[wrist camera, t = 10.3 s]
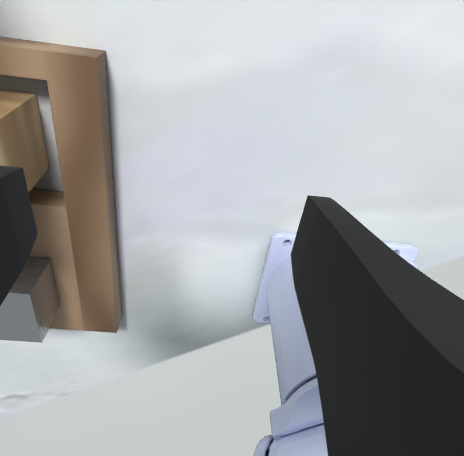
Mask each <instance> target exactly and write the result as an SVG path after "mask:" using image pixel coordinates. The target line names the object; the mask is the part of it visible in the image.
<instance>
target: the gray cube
mask: <svg viewBox="0 0 464 456" xmlns="http://www.w3.org/2000/svg"><path fill="white" fill-rule="evenodd" d="M59 306H60V301H59V295H58V290H57V285H56V280H55V275H54V270H53V265H52V260H51V258H50V257H38V256H29V257H28V259H27V261H26V264H25V266H24V268H23V270H22V271H21V273H20V275H19V276H18V278H17V280H16V281H15V283H14V285H13V286H12V288H11V290H10V291H9V293H8V295H7V296H6V298H5V299H4V301H3V303H2V304H1V306H0V340H12V341H28V342H43V339H44V337H45V335H46V333H47V331H48V329H49V327H50V325H51V323H52V321H53V318H54V316H55V314H56V312H57V310H58V308H59Z"/></svg>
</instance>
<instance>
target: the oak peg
mask: <svg viewBox="0 0 464 456" xmlns="http://www.w3.org/2000/svg"><path fill="white" fill-rule="evenodd" d="M0 165H1V166H11V167H21V168H23V170H24V175H25V179H26V184H27V188H28V193H29V191H30V190H31V189H32V188H33V187H34V186H35V184H36V183H37V182H38V181H39V180H40V178H41V177H42V176H43V175H44V174H45V172H46V171H47V170H48V169H49V165H48V159H47V154H46V148H45V142H44V137H43V131H42V125H41V120H40V114H39V109H38V103H37V97H36V94H32V93H23V92H14V91H6V90H0Z"/></svg>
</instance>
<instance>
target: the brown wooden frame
mask: <svg viewBox="0 0 464 456" xmlns="http://www.w3.org/2000/svg"><path fill="white" fill-rule="evenodd" d="M0 74H1V75H9V76H17V77H25V78H33V79H41V80H47V85H48V91H49V98H50V105H51V111H52V118H53V125H54V131H55V138H56V145H57V151H58V158H59V165H60V171H61V178H62V185H63V191H64V192H58V191H48V190H38V189H31V190H30V191H29V197H30V202H31V206H32V211H33V215H34V220H35V224H36V229H37V233H38V234H37V237H36V240H35V242H34V245H33V247H32V250H31V252H30V255H29V256H38V257H50V258H51V260H52V265H53V270H54V275H55V280H56V285H57V290H58V295H59V301H60V306H59V308H58V310H57V312H56V314H55V316H54V318H53V321H52V323H51V325H50V327H49V328H54V329H69V330H84V331H98V332H113V333H117V330H118V326H119V323H120V319H121V302H120V285H119V268H118V252H117V235H116V219H115V202H114V186H113V169H112V152H111V136H110V119H109V103H108V86H107V70H106V53H105V51H103V50H95V49H88V48H81V47H73V46H66V45H58V44H51V43H43V42H36V41H29V40H21V39H14V38H6V37H0Z"/></svg>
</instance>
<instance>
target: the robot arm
mask: <svg viewBox="0 0 464 456" xmlns="http://www.w3.org/2000/svg"><path fill="white" fill-rule="evenodd" d="M37 234H38V233H37V229H36V224H35V220H34V215H33V211H32V206H31V202H30V197H29V193H28V188H27V184H26V179H25V175H24V170H23V168H21V167H11V166H1V165H0V306H1V304H2V303H3V301H4V299H5V298H6V296H7V295H8V293H9V291H10V290H11V288H12V286H13V285H14V283H15V281H16V280H17V278H18V276H19V275H20V273H21V271H22V270H23V268H24V266H25V264H26V261H27V259H28V257H29V255H30V252H31V250H32V247H33V245H34V242H35V240H36V237H37ZM285 240H290V241H289V242H287V243H285V242H284V241H285ZM394 250H396V251H395V252H394ZM417 255H418V250H417V248H416V247H415V246H413V245H406V244H396V243H385V242H382V241H381V240H380V239H379V238H378V237H376V236H375V235H374V234H373V233H372V232H370V231H369V230H368V229H367V228H366V227H365V226H364V225H362V224H361V223H360V222H359V221H358V220H357V219H356V218H354V217H353V216H352V215H351V214H350V213H349V212H348V211H346V210H345V209H344V208H343V207H342V206H340V205H339V204H338V203H337V202H335V201H334V200H333V199H331V198H328V197H318V196H308V197H307V200H306V203H305V207H304V210H303V214H302V217H301V220H300V224H299V227H298V231H297V234H290V233H275V234H274V235H272V237H271V240H270V244H269V248H268V252H267V256H266V261H265V265H264V269H263V273H262V277H261V281H260V286H259V290H258V294H257V298H256V302H255V307H254V311H253V320H254V321H255V322H257V323H268V324H271V329H272V336H273V345H274V352H275V360H276V367H277V375H278V382H279V390H280V397H281V405H282V406H281V407H279V408H277V409H275V410H272V411H271V412H270V420H271V430H272V435H269V436H265V437H264V438H263V439H262V440H260V442H259V443H258V445H257V447H256V450H255V453H254V456H464V300H462V299H461V298H459V297H458V296H456V295H455V294H453V293H452V292H450V291H449V290H447V289H446V288H444V287H443V286H441V285H439V284H438V283H437V282H435V281H433V280H432V279H430V278H429V277H427V276H426V275H425V274H423V273H422V272H421V271H419V270H418V268H417V267H416V265H415V263H414V261H415V259H416V257H417Z"/></svg>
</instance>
